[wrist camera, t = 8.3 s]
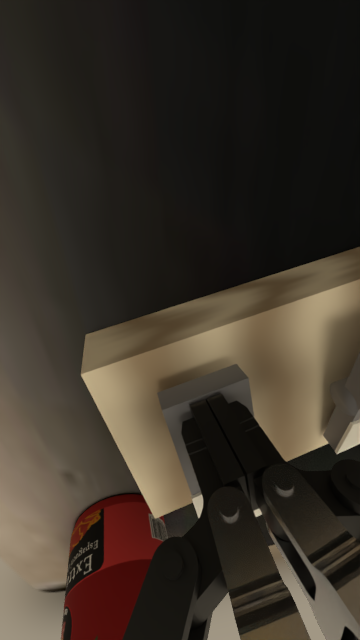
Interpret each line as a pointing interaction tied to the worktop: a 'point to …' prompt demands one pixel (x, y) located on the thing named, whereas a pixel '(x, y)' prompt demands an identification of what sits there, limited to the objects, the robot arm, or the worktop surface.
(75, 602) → the canned food
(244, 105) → the worktop surface
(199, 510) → the switch
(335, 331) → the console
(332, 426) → the switch
